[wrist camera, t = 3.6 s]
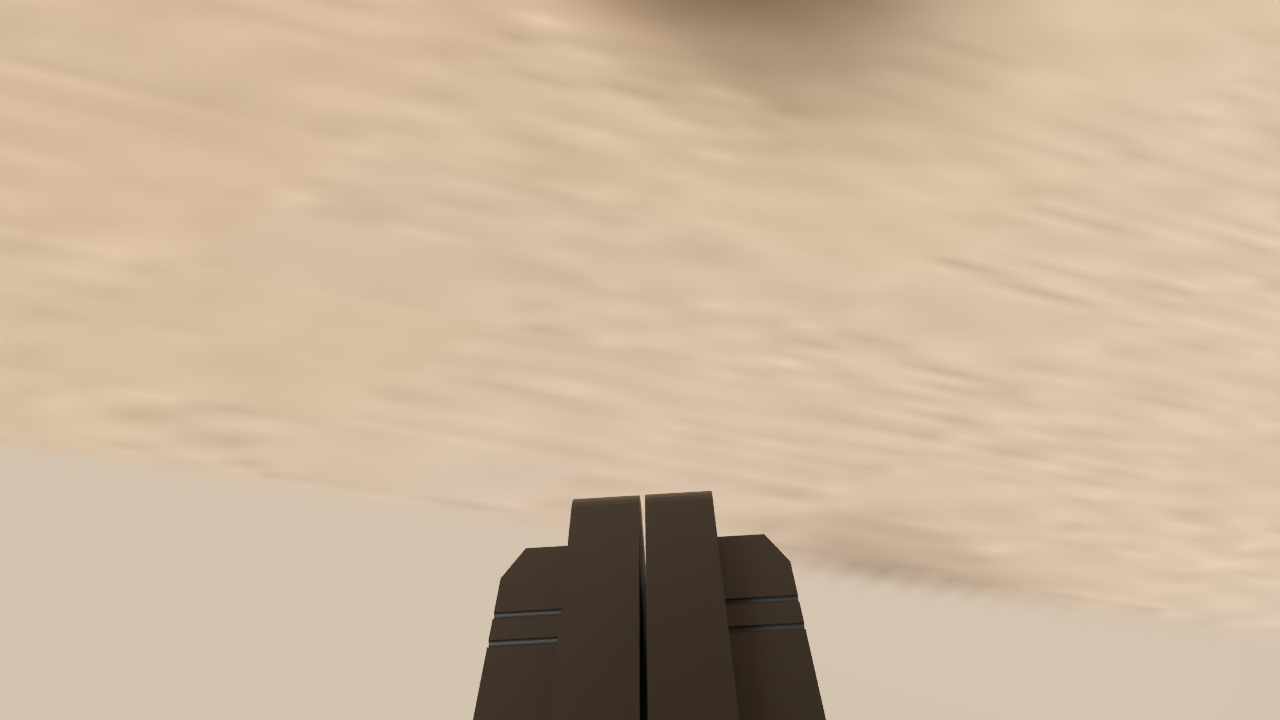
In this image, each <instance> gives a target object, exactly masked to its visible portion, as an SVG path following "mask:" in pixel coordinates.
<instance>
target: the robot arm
mask: <svg viewBox="0 0 1280 720" xmlns="http://www.w3.org/2000/svg"><path fill="white" fill-rule="evenodd" d="M645 526H646V563H645V550H644V537H643V524H642V512H641V502H640V496H622V497H605V498H588V499H574V500H573V502H572V509H571V519H570V528H569V538H568V546H558V547H542V548H526V549H525V550H524V551H523V553H522V554H521V555H520V556H519V557H518V558H517V560H516V561H515V562H514V563H513V564H512V566H511V567H510V568H509V569H508V570H507V572H506V573H505V574H504V575H503V576H502V578H501V580H500V585H499V591H498V595H497V600H496V605H495V610H494V619H493V621H492V626H491V631H490V636H489V648H487V652H486V656H485V662H484V667H483V672H482V677H481V682H480V688H479V692H478V697H477V702H476V708H475V713H474V718H473V720H826V719H825V715H824V710H823V705H822V701H821V696H820V692H819V687H818V683H817V678H816V674H815V670H814V665H813V661H812V656H811V652H810V647H809V643H808V639H807V634H806V630H805V629H804V621H803V616H802V612H801V607H800V603H799V601H798V594H797V589H796V585H795V580H794V576H793V572H792V567H791V563H790V561H789V560H788V559H787V558H786V557H785V556H784V555H783V553H782V552H781V551H780V550H779V549H778V548H777V547H776V546H775V545H774V544H773V543H772V542H771V541H770V540H769V539H768V538H767V537H766V536H765V535H764V534H760V535H743V536H726V537H717V530H716V522H715V514H714V506H713V498H712V492H711V491H702V492H685V493H668V494H652V495H645Z"/></svg>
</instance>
